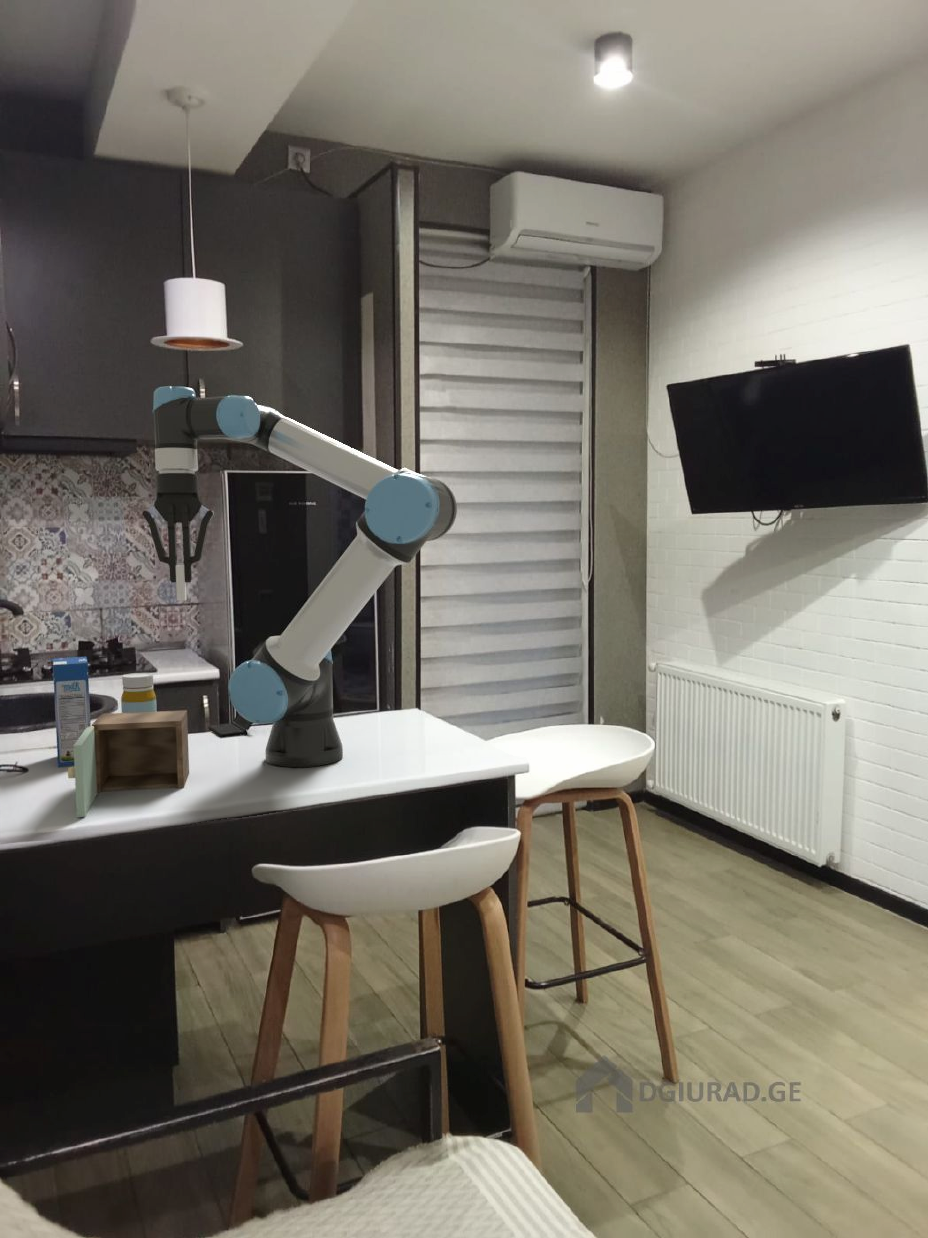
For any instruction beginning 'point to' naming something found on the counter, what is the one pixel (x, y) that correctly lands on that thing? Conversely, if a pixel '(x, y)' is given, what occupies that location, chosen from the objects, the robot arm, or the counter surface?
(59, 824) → the counter surface
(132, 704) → the bottle
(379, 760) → the counter surface
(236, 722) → the handheld gaming console
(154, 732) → the walnut cabinet
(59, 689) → the milk carton
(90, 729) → the cabinet door
